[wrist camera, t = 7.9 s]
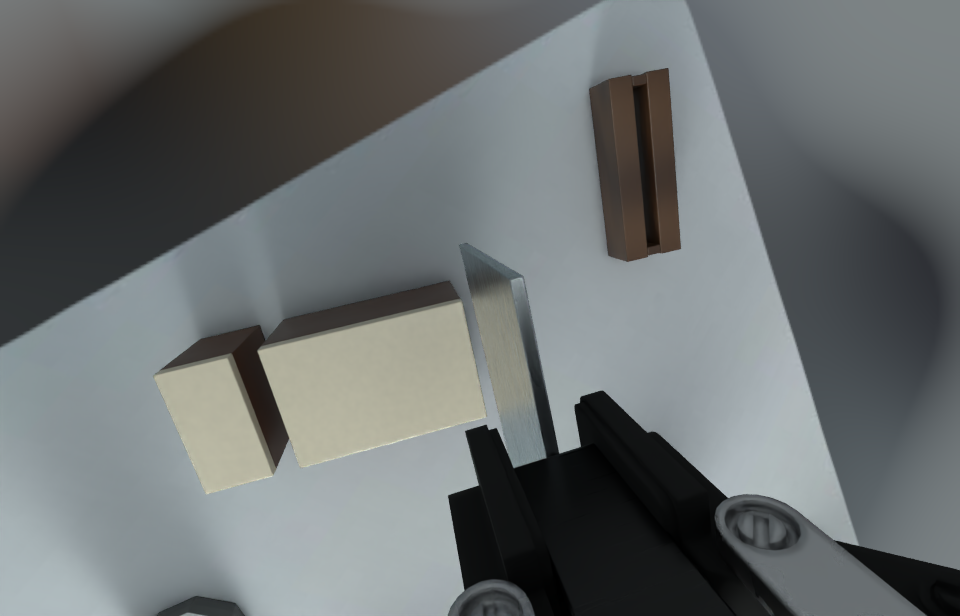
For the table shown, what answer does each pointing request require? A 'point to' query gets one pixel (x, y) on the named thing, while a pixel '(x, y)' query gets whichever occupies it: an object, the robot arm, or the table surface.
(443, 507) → the table surface
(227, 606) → the wine bottle
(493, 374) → the metal dough scraper
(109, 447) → the table surface
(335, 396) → the cake
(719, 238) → the table surface
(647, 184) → the knife stand
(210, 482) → the cake slice
